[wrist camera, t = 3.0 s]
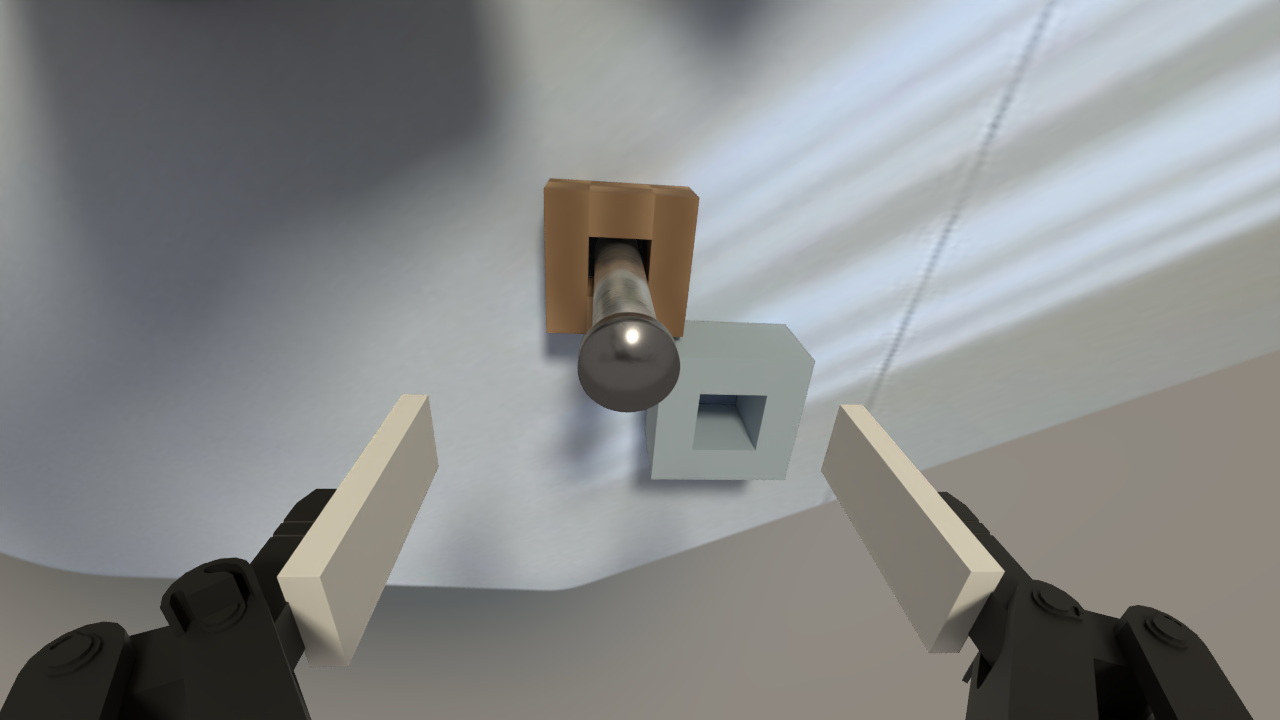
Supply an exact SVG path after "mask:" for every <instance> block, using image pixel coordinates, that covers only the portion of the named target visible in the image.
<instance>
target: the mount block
mask: <svg viewBox="0 0 1280 720" xmlns="http://www.w3.org/2000/svg"><path fill="white" fill-rule="evenodd" d="M698 206H699V197H698V196H697V195H696V194H695V193H694V192H693V191H692V190H691V189H690V188H689V187H682V186H666V185H649V184H633V183H616V182H600V181H583V180H566V179H549V181H548V183H547V184H546V186H545V187H544V226H545V277H546V328H547V333H573V334H586V333H587V332H588V331H589V329H590V328H591V327H592V323H593V297H594V277H589V246H590V237H608V238H628V239H646V240H645V253H644V271H645V275H646V279H647V283H648V287H649V291H650V295H651V299H652V303H653V307H654V311H655V315H656V319H657V320H658V321H659V322H661V323H662V324H663V325H664V326H665V327H666V328H667V329H668V330H669V332H670V333H671V335H672V337H683V333H684V325H685V316H686V308H687V299H688V291H689V282H690V274H691V265H692V257H693V248H694V240H695V231H696V223H697V214H698Z"/></svg>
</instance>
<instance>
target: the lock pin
mask: <svg viewBox="0 0 1280 720" xmlns="http://www.w3.org/2000/svg"><path fill="white" fill-rule="evenodd" d="M679 374H680V358H679V354H678V351H677V347H676V344H675V341H674V339H673V337H672V335H671V333H670V332H669V330H668V329H667V328H666V327H665V326H664V325H663V324H662V323H661V322H659V321H658V320H657V319H656V315H655V311H654V307H653V303H652V299H651V295H650V291H649V287H648V283H647V279H646V275H645V271H644V267H643V263H642V259H641V255H640V251H639V247H638V243H637V241H636V239H628V238H608V237H600V238H599V239H598V241H597V244H596V248H595V271H594V297H593V323H592V327H591V328H590V329H589V331H588V332H587V333H586V335H585V336H584V338H583V340H582V343H581V345H580V350H579V360H578V375H579V380H580V382H581V385H582V387H583V389H584V391H585V392H586V393H587V395H588V396H589V397H590V398H591V399H592V400H594V401H595V402H596V403H598V404H599V405H601V406H603V407H605V408H607V409H610V410H613V411H618V412H637V411H642V410H646V409H648V408H651V407H653V406H655V405H657V404H658V403H660V402H661V401H663V400H664V399H665V398H666V397H667V396H668V395H669V394H670V393H671V391H672V390H673V388H674V387H675V385H676V383H677V381H678V378H679Z"/></svg>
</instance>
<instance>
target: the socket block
mask: <svg viewBox="0 0 1280 720" xmlns="http://www.w3.org/2000/svg"><path fill="white" fill-rule="evenodd" d="M673 339H674V341H675V344H676V347H677V351H678V354H679V358H680V374H679V378H678V381H677V383H676V385H675V387H674V388H673V390H672V391H671V393H670V394H669V395H668V396H667V397H666V398H665V399H664V400H663V401H661V402H660V403H658V404H657V405H655V406H653V407H651V408H648V409H647V411H646V423H645V436H646V444H647V451H648V459H649V467H650V474H651V479H688V480H785V477H786V473H787V469H788V465H789V461H790V457H791V454H792V450H793V446H794V442H795V438H796V434H797V430H798V426H799V422H800V419H801V415H802V411H803V407H804V403H805V399H806V395H807V391H808V387H809V383H810V380H811V376H812V372H813V368H814V364H815V360H814V359H813V358H812V357H811V355H810V354H809V353H808V352H807V350H806V349H805V348H804V347H803V345H802V344H801V343H800V342H799V341H798V339H797V338H796V337H795V336H794V334H793V333H792V332H791V331H790V329H789V328H788V327H787V326H786V324H760V323H732V322H704V321H685V325H684V333H683V337H673ZM700 394H718V395H737V401H736V405H710V404H699V398H700Z"/></svg>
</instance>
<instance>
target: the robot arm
mask: <svg viewBox="0 0 1280 720" xmlns="http://www.w3.org/2000/svg"><path fill="white" fill-rule="evenodd" d="M438 467H439V466H438V459H437V452H436V445H435V438H434V431H433V424H432V417H431V410H430V403H429V396H428V395H405V394H402V396H401V397H400V399H399V400H398V401H397V403H396V404H395V406H394V407H393V409H392V410H391V412H390V413H389V415H388V416H387V417H386V419H385V420H384V422H383V423H382V425H381V426H380V428H379V429H378V431H377V432H376V433H375V435H374V436H373V438H372V439H371V441H370V442H369V444H368V445H367V447H366V448H365V450H364V451H363V452H362V454H361V455H360V457H359V458H358V460H357V461H356V463H355V464H354V466H353V467H352V468H351V470H350V471H349V473H348V474H347V476H346V477H345V479H344V480H343V482H342V483H341V484H340V486H339V487H338V489H315V490H314V491H313V492H311V493H310V494H309V495H307V496H306V497H304V498H303V499H302V500H300V501H299V502H298V503H296V505H295V506H294V507H293V509H292V510H291V511H290V512H289V514H288V515H287V516H286V518H285V519H284V522H283V523H281V524H280V526H279V527H278V528H277V529H276V531H275V532H274V533H273V537H270V539H269V540H268V541H267V543H266V544H265V545H264V546H263V548H262V549H261V550H260V552H259V553H258V554H257V556H256V557H255V558H254V560H253V561H252V562H251V563H250V564H249V563H248V562H247V561H246V560H243V559H239V558H223V559H218V560H214V561H211V562H208V563H205V564H202V565H200V566H198V567H196V568H194V569H193V570H191V571H189V572H187V573H185V574H184V575H183V576H181V577H180V578H179V579H178V580H176V581H175V582H174V583H173V584H172V585H171V586H170V587H169V589H168V590H167V591H166V593H165V594H164V595H163V597H162V601H161V606H160V609H161V610H162V612H163V614H164V616H165V618H166V620H167V621H168V623H169V625H170V626H166V627H162V628H159V629H154V630H151V631H147V632H143V633H139V634H135V635H131V636H128V634H127V632H126V630H125V629H124V628H123V627H122V626H120V625H119V624H118V623H112V622H100V623H94V624H89V625H85V626H83V627H80V628H78V629H76V630H73V631H71V632H68V633H66V634H64V635H62V636H61V637H59V638H57V639H56V640H54V641H52V642H51V643H49V644H47V645H46V646H44V647H43V648H42V649H41V650H40V651H39V652H37V653H36V654H35V655H34V656H33V657H32V658H30V659H29V660H28V662H27V663H26V665H25V666H24V667H23V668H22V670H21V671H20V673H19V674H18V676H17V678H16V680H15V682H14V684H13V686H12V688H11V690H10V692H9V694H8V697H7V699H6V701H5V703H4V705H3V707H2V709H1V711H0V720H311V717H310V715H309V712H308V709H307V706H306V703H305V701H304V698H303V695H302V692H301V689H300V686H299V684H298V681H297V678H296V675H295V673H294V669H295V667H296V665H297V663H298V661H299V659H300V657H301V656H302V654H303V652H304V651H305V654H306V657H307V659H308V662H309V665H310V667H346V666H347V667H348V666H349V664H350V661H351V659H352V657H353V655H354V653H355V650H356V648H357V646H358V644H359V641H360V639H361V637H362V635H363V633H364V631H365V628H366V626H367V624H368V621H369V619H370V617H371V615H372V613H373V611H374V608H375V606H376V604H377V602H378V600H379V597H380V595H381V593H382V591H383V588H384V586H385V584H386V582H387V580H388V577H389V575H390V573H391V571H392V569H393V566H394V564H395V562H396V560H397V557H398V555H399V553H400V551H401V549H402V546H403V544H404V542H405V540H406V538H407V535H408V533H409V531H410V529H411V526H412V524H413V522H414V520H415V518H416V515H417V513H418V511H419V509H420V507H421V504H422V502H423V500H424V498H425V496H426V493H427V491H428V489H429V487H430V484H431V482H432V480H433V478H434V476H435V473H436V471H437V469H438ZM821 472H822V473H823V475H824V477H825V478H826V480H827V482H828V484H829V485H830V487H831V489H832V490H833V492H834V494H835V495H836V497H837V499H838V500H839V502H840V504H841V506H842V507H843V509H844V511H845V512H846V514H847V516H848V517H849V519H850V521H851V522H852V524H853V526H854V527H855V529H856V531H857V533H858V534H859V536H860V537H861V539H862V541H863V543H864V544H865V546H866V548H867V549H868V551H869V553H870V555H871V556H872V558H873V560H874V561H875V563H876V565H877V566H878V568H879V570H880V571H881V573H882V575H883V576H884V578H885V580H886V582H887V583H888V585H889V587H890V588H891V590H892V592H893V593H894V595H895V597H896V598H897V600H898V602H899V604H900V605H901V607H902V609H903V610H904V612H905V614H906V615H907V617H908V619H909V621H910V622H911V624H912V626H913V627H914V629H915V631H916V632H917V634H918V636H919V637H920V639H921V641H922V642H923V644H924V646H925V648H926V649H927V651H928V653H957V652H958V653H959V652H960V650H961V648H962V647H963V645H964V643H965V641H966V640H967V638H968V636H970V638H971V639H972V641H973V642H974V644H975V645H976V646H977V648H978V650H979V652H978V653H977V655H976V657H975V658H974V660H973V662H972V663H971V665H970V667H969V668H968V670H967V672H966V674H965V676H964V678H963V680H962V681H964V682H966V683H968V681H969V680H970V678H971V683H970V691H969V699H968V705H967V713H966V720H1253V718H1252V717H1251V715H1250V714H1249V712H1248V711H1247V709H1246V707H1245V706H1244V704H1243V703H1242V701H1241V699H1240V698H1239V696H1238V695H1237V693H1236V692H1235V690H1234V688H1233V687H1232V686H1231V684H1230V682H1229V681H1228V679H1227V677H1226V676H1225V674H1224V673H1223V671H1222V670H1221V668H1220V666H1219V665H1218V663H1217V662H1216V660H1215V659H1214V657H1213V655H1212V654H1211V652H1210V651H1209V649H1208V648H1207V646H1206V645H1205V644H1204V642H1203V641H1202V640H1201V639H1200V638H1199V637H1198V635H1197V634H1195V633H1194V632H1193V631H1192V630H1190V629H1189V628H1188V627H1187V626H1186V625H1184V624H1183V623H1181V622H1180V621H1178V620H1177V619H1175V618H1173V617H1172V616H1170V615H1168V614H1166V613H1163V612H1161V611H1158V610H1156V609H1154V608H1151V607H1146V606H1140V605H1136V606H1130V607H1129V608H1128V609H1127V610H1126V612H1125V613H1124V614H1123V616H1122V617H1121V618H1120V619H1118V618H1114V617H1110V616H1106V615H1102V614H1098V613H1094V612H1091V611H1087V610H1084V609H1083V608H1082V607H1081V606H1080V604H1079V603H1078V602H1077V601H1076V600H1075V599H1073V598H1072V597H1071V596H1070V595H1068V594H1067V593H1066V592H1064V591H1062V590H1060V589H1059V588H1057V587H1055V586H1053V585H1051V584H1048V583H1046V582H1043V581H1039V580H1032V578H1031V577H1030V576H1029V575H1028V574H1027V573H1026V572H1025V571H1024V570H1023V569H1022V567H1021V566H1020V565H1019V564H1018V563H1017V562H1016V561H1015V560H1014V558H1013V557H1012V556H1011V555H1010V554H1009V553H1008V552H1007V551H1006V550H1005V548H1004V547H1003V546H1002V545H1001V544H1000V543H999V542H998V541H997V540H996V538H995V537H994V536H992V535H990V532H989V531H988V530H987V528H986V527H985V526H984V525H983V524H982V523H979V520H978V518H977V517H976V516H975V515H974V514H973V513H972V512H971V511H970V510H969V508H968V507H967V506H966V505H965V504H963V503H962V502H960V501H959V500H957V499H956V498H955V497H953V496H952V495H950V494H949V493H948V492H936V491H935V489H934V488H933V487H932V486H931V485H930V484H929V482H928V481H927V480H926V479H925V478H924V476H923V475H922V474H921V473H920V472H919V471H918V469H917V468H916V467H915V466H914V465H913V464H912V462H911V461H910V460H909V459H908V458H907V457H906V455H905V454H904V453H903V452H902V451H901V450H900V448H899V447H898V446H897V445H896V444H895V443H894V441H893V440H892V439H891V438H890V437H889V436H888V434H887V433H886V432H885V431H884V430H883V428H882V427H881V426H880V425H879V424H878V423H877V421H876V420H875V419H874V418H873V417H872V416H871V414H870V413H869V412H868V411H867V410H866V409H865V407H864V406H863V405H840V407H839V410H838V414H837V417H836V421H835V424H834V427H833V431H832V434H831V438H830V441H829V445H828V448H827V452H826V455H825V458H824V462H823V465H822V469H821Z"/></svg>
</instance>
